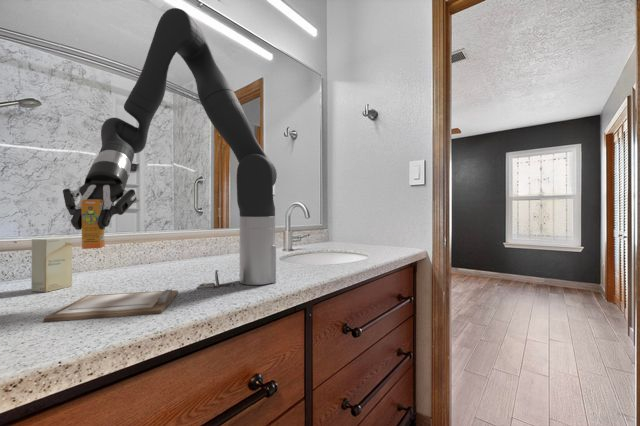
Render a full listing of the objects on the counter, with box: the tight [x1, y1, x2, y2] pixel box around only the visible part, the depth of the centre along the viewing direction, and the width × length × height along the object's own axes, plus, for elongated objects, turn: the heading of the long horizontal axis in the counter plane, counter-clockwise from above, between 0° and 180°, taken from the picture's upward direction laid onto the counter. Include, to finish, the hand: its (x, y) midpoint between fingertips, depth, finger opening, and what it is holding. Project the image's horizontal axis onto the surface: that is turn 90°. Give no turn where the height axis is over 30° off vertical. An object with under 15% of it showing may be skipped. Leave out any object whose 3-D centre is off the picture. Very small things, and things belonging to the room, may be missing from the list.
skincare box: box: [31, 237, 73, 293], centre depth 71 cm, size 6×4×12 cm
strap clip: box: [197, 269, 235, 290], centre depth 74 cm, size 8×3×4 cm, turn 107°
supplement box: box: [81, 199, 105, 250], centre depth 61 cm, size 3×3×10 cm
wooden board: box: [43, 289, 179, 323], centre depth 59 cm, size 18×14×2 cm
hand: (89, 226), depth 59 cm, fingers closed on supplement box, 3 cm apart
